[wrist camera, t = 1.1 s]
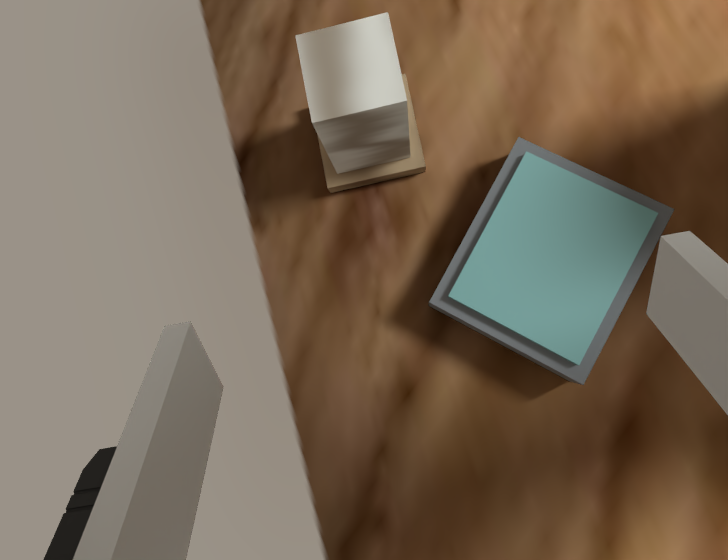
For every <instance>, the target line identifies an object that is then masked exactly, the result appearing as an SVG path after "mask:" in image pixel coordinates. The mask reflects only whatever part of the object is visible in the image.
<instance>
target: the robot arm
mask: <svg viewBox="0 0 728 560" xmlns="http://www.w3.org/2000/svg"><path fill="white" fill-rule="evenodd" d="M646 314H647V315H648V317H649V318H650V319H651V320H652V322H653V323H654V324H655V325H656V326H657V328H658V329H659V330H660V331H661V333H662V334H663V335H664V336H665V338H666V339H667V340H668V341H669V343H670V344H671V345H672V346H673V348H674V349H675V350H676V351H677V353H678V354H679V355H680V356H681V358H682V359H683V360H684V361H685V363H686V364H687V365H688V366H689V368H690V369H691V370H692V371H693V373H694V374H695V375H696V376H697V378H698V379H699V380H700V381H701V383H702V384H703V385H704V386H705V388H706V389H707V390H708V391H709V393H710V394H711V395H712V396H713V398H714V399H715V400H716V401H717V403H718V404H719V405H720V406H721V408H722V409H723V410H724V411H725V413H726V414H727V415H728V264H727V263H726V262H725V261H724V260H723V259H722V258H721V257H719V256H718V255H717V254H716V253H715V252H714V251H713V250H711V249H710V248H709V247H708V246H707V245H706V244H704V243H703V242H702V241H701V240H700V239H699V238H698V237H696V236H695V235H694V234H693V233H692V232H691V231H686V232H680V233H675V234H669V235H664V236H661V238H660V243H659V248H658V253H657V259H656V264H655V269H654V275H653V280H652V285H651V290H650V296H649V301H648V306H647V312H646ZM222 391H223V385H222V383H221V381H220V379H219V377H218V375H217V373H216V371H215V369H214V367H213V365H212V363H211V361H210V359H209V357H208V355H207V353H206V351H205V349H204V347H203V345H202V343H201V341H200V339H199V338H198V335H197V333H196V332H195V329H194V327H193V325H192V323H191V322H185V323H179V324H174V325H169V326H164V329H163V331H162V334H161V336H160V339H159V342H158V344H157V347H156V349H155V352H154V354H153V357H152V360H151V362H150V364H149V367H148V370H147V372H146V375H145V377H144V380H143V382H142V385H141V387H140V390H139V392H138V395H137V397H136V400H135V403H134V405H133V408H132V410H131V413H130V415H129V418H128V420H127V423H126V425H125V428H124V431H123V433H122V436H121V438H120V441H119V443H118V446H117V447H110V448H105V449H100V450H99V451H98V452H97V453H96V454H95V456H94V457H93V458H92V459H91V461H90V462H89V463H88V464H87V465H86V467H85V468H84V469H83V471H82V473H81V475H80V478H79V480H78V482H77V485H76V487H75V489H74V495H72V496H71V498H70V501H69V503H68V505H67V507H66V513H64V514H63V517H62V519H61V521H60V523H59V526H58V528H57V530H56V533H55V535H54V537H53V539H52V542H51V544H50V546H49V548H48V551H47V553H46V555H45V558H44V560H186V556H187V552H188V547H189V543H190V537H191V533H192V529H193V524H194V520H195V515H196V511H197V506H198V501H199V497H200V492H201V488H202V483H203V478H204V474H205V469H206V465H207V460H208V455H209V451H210V446H211V442H212V437H213V433H214V428H215V423H216V419H217V414H218V410H219V405H220V400H221V396H222Z"/></svg>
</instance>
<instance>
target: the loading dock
mask: <svg viewBox="0 0 728 560" xmlns="http://www.w3.org/2000/svg"><path fill="white" fill-rule="evenodd" d="M673 211H674V209H673V208H671V207H669V206H666V205H664V204H662V203H660V202H658V201H656V200H654V199H651V198H649V197H647V196H645V195H643V194H641V193H638V192H636V191H634V190H632V189H630V188H628V187H626V186H623V185H621V184H619V183H617V182H615V181H613V180H610V179H608V178H606V177H604V176H602V175H600V174H597V173H595V172H593V171H591V170H589V169H587V168H585V167H582V166H580V165H578V164H576V163H574V162H572V161H569V160H567V159H565V158H563V157H561V156H559V155H557V154H554V153H552V152H550V151H548V150H546V149H544V148H541V147H539V146H537V145H535V144H533V143H531V142H528V141H526V140H524V139H522V138H520V137H518V139H517V141H516V143H515V145H514V147H513V148H512V150H511V152H510V154H509V156H508V158H507V159H506V161H505V163H504V165H503V167H502V169H501V170H500V172H499V174H498V176H497V178H496V180H495V182H494V183H493V185H492V187H491V189H490V191H489V193H488V194H487V196H486V198H485V200H484V202H483V204H482V206H481V207H480V209H479V211H478V213H477V215H476V217H475V218H474V220H473V222H472V224H471V226H470V228H469V230H468V231H467V233H466V235H465V237H464V239H463V241H462V242H461V244H460V246H459V248H458V250H457V252H456V253H455V255H454V257H453V259H452V261H451V263H450V265H449V266H448V268H447V270H446V272H445V274H444V276H443V277H442V279H441V281H440V283H439V285H438V287H437V289H436V290H435V292H434V294H433V296H432V298H431V300H430V301H429V306H430V307H432V308H434V309H436V310H438V311H440V312H441V313H443V314H445V315H447V316H449V317H451V318H453V319H454V320H456V321H458V322H460V323H462V324H464V325H466V326H467V327H469V328H471V329H473V330H475V331H477V332H479V333H481V334H482V335H484V336H486V337H488V338H490V339H492V340H494V341H495V342H497V343H499V344H501V345H503V346H505V347H507V348H508V349H510V350H512V351H514V352H516V353H518V354H520V355H521V356H523V357H525V358H527V359H529V360H531V361H533V362H535V363H536V364H538V365H540V366H542V367H544V368H546V369H548V370H549V371H551V372H553V373H555V374H557V375H559V376H561V377H562V378H564V379H566V380H568V381H570V382H574V383H578V384H582V385H584V383H585V381H586V379H587V377H588V375H589V373H590V371H591V369H592V367H593V365H594V364H595V362H596V360H597V358H598V356H599V354H600V352H601V350H602V348H603V346H604V344H605V342H606V340H607V338H608V337H609V335H610V333H611V331H612V329H613V327H614V325H615V323H616V321H617V319H618V317H619V315H620V313H621V312H622V310H623V308H624V306H625V304H626V302H627V300H628V298H629V296H630V294H631V292H632V290H633V288H634V286H635V285H636V283H637V281H638V279H639V277H640V275H641V273H642V271H643V269H644V267H645V265H646V263H647V261H648V259H649V258H650V256H651V254H652V252H653V250H654V248H655V246H656V244H657V242H658V240H659V238H660V236H661V234H662V232H663V231H664V229H665V227H666V225H667V223H668V221H669V219H670V217H671V215H672V213H673Z"/></svg>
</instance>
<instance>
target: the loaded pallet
mask: <svg viewBox="0 0 728 560" xmlns="http://www.w3.org/2000/svg"><path fill="white" fill-rule="evenodd" d="M296 41H297V46H298V52H299V57H300V62H301V68H302V73H303V78H304V84H305V89H306V94H307V100H308V105H309V110H310V116H311V121H312V124H313V126H314V128H315V130H316V132H317V135H318V140H319V146H320V151H321V156H322V162H323V167H324V172H325V177H326V183H327V188H328V190H329V191H330V192H331V193H333V192H337V191H342V190H346V189H351V188H355V187H360V186H364V185H369V184H373V183H377V182H382V181H386V180H391V179H395V178H400V177H404V176H409V175H413V174H418V173H422V172H425V170H426V166H425V161H424V156H423V152H422V147H421V143H420V138H419V134H418V129H417V125H416V120H415V115H414V111H413V106H412V102H411V97H410V93H409V88H408V84H407V79H406V74H402V75H401V70H400V66H399V61H398V57H397V52H396V47H395V43H394V38H393V34H392V29H391V24H390V20H389V15H388V12H387V13H383V14H379V15H375V16H371V17H367V18H363V19H359V20H355V21H351V22H347V23H343V24H339V25H336V26H332V27H328V28H324V29H320V30H316V31H312V32H308V33H304V34H300V35H296Z"/></svg>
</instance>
